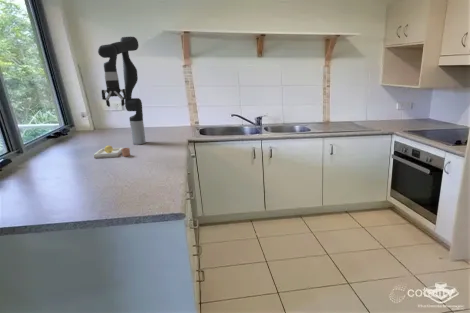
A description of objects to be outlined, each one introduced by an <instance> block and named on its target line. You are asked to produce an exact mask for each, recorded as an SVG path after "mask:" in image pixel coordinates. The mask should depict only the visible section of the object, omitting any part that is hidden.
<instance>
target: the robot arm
mask: <svg viewBox="0 0 470 313" xmlns="http://www.w3.org/2000/svg"><path fill="white" fill-rule="evenodd" d="M138 48H139V41H138V38H137V37H134V36H123V37H121V38H120V40H119V41H116V42H113V43H110V44H108V43H107V44H102V45H100V46H99V47H98V48H97V53H98V56H100V57H101V58H102V59H103V58H104V59H105V58H106V59H107V58H109V59H108V60H107V61H105V62H103V70H104V79H105V86H106V89H101V97H102V100H103V101H105V104H106V106H107V107H108V108H109V107H111V104H110V100H109V99H110V98H111V97H112V98H113V97H118V98H119V99H120V102H121V106H122V107H125V110H126V111H127V112H135V114H134V115H131V116H130V117H129V123H130V124H129V125H130V131H131V141H132V144H133V145H135V146H136V145H144V144H146V143H147V141H146V133H145V124H144V117H143V116H144V113H143V102H142V100H141V98H140V97H139V98H138V97H134V98H133V97H132V93H133V90H134V88H135V87H136V84H137V83H138V69H137V67H136V66H135V64H134V63H133V61H132V59H131V58H130V54H129V52H133V51H137V50H138ZM118 55H121V57H122V58H121V59H122V67H123V68H122V69H123V70H122V71H123V80H124V81H123V82H124V88H122V89H121V86H120V80H119V75H118V72H117V59H118ZM121 93H122V94H121ZM106 94H107V96H106Z"/></svg>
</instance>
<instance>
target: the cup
mask: <svg viewBox="0 0 470 313" xmlns="http://www.w3.org/2000/svg"><path fill="white" fill-rule="evenodd" d="M122 148H123V149H121V151H122V153H121V155H122V157H123V158H127V157H130V156H131V148H129V147H122Z"/></svg>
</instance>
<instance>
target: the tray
mask: <svg viewBox="0 0 470 313" xmlns="http://www.w3.org/2000/svg"><path fill="white" fill-rule="evenodd" d="M112 148H113V151H112V152H111V153H106V152H105V150H104V148H100V149H99V150H98V151H96V152H95V153H94V154H93V158H94V159H103V158H118V157H119V156H120V155H122V151H121V149H123V148H124V147H112Z"/></svg>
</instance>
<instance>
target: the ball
mask: <svg viewBox="0 0 470 313" xmlns="http://www.w3.org/2000/svg"><path fill="white" fill-rule="evenodd" d="M113 148H114V147H113V146H112V145H106V146H105V147H104V148H103V149H104V150H105V152H106V153H111V152H112V151H113Z"/></svg>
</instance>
